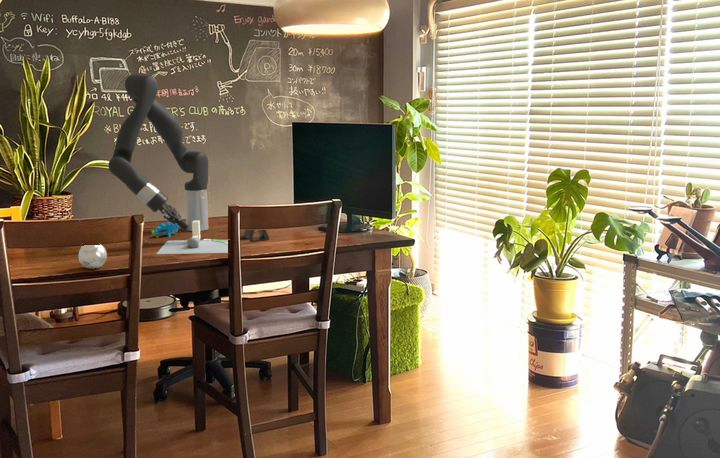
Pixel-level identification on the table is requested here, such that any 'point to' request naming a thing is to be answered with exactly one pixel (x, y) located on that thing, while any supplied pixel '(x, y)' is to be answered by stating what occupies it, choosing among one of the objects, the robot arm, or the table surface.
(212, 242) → the board
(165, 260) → the table surface
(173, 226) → the blue toy animal
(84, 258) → the grey round ball
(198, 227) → the white l-shaped block
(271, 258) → the table surface
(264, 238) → the door stopper
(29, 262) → the table surface
